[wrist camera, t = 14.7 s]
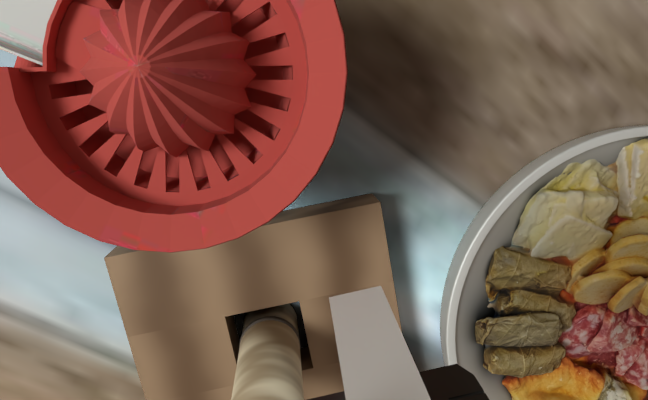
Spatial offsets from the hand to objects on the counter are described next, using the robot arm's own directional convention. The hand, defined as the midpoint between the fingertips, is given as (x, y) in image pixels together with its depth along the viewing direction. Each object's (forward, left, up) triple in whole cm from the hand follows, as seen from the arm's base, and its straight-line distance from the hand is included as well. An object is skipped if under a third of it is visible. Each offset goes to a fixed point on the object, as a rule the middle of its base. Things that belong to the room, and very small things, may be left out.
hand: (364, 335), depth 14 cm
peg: (+5, +11, -26) cm, 28 cm away
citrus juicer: (+6, -9, -26) cm, 28 cm away
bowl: (-23, +15, -26) cm, 38 cm away
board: (+5, +11, -26) cm, 28 cm away
